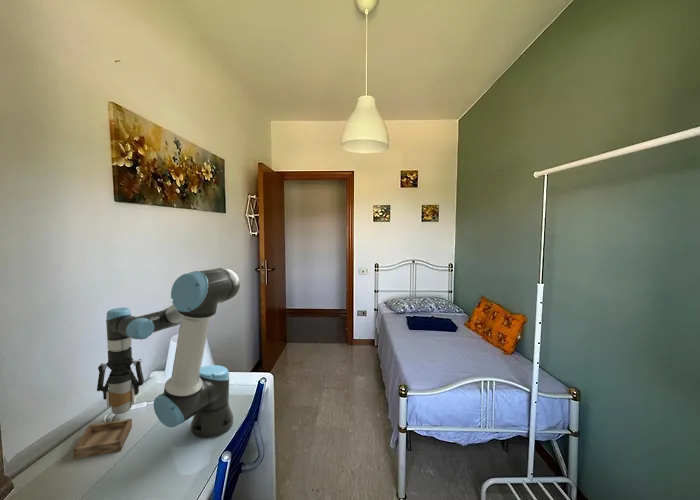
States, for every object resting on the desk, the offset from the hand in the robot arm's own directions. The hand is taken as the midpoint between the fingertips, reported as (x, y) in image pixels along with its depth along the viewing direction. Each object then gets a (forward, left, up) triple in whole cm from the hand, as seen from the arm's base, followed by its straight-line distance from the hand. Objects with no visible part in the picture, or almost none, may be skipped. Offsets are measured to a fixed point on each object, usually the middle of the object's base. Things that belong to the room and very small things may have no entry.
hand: (121, 404), depth 124 cm
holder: (+1, +14, -6) cm, 15 cm away
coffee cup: (0, 0, -2) cm, 2 cm away
